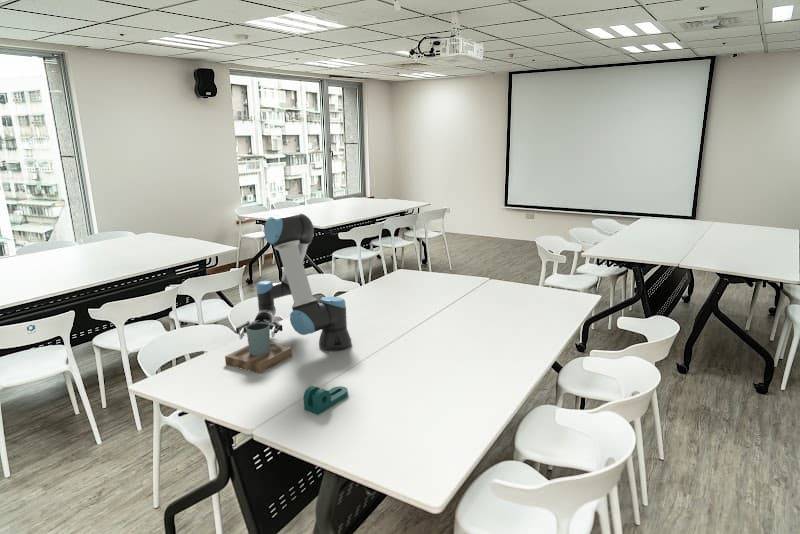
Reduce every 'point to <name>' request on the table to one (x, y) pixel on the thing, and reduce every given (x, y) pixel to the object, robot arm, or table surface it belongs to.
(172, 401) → the table surface
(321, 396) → the bracket
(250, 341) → the blue green cup
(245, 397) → the table surface
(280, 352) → the walnut riser
